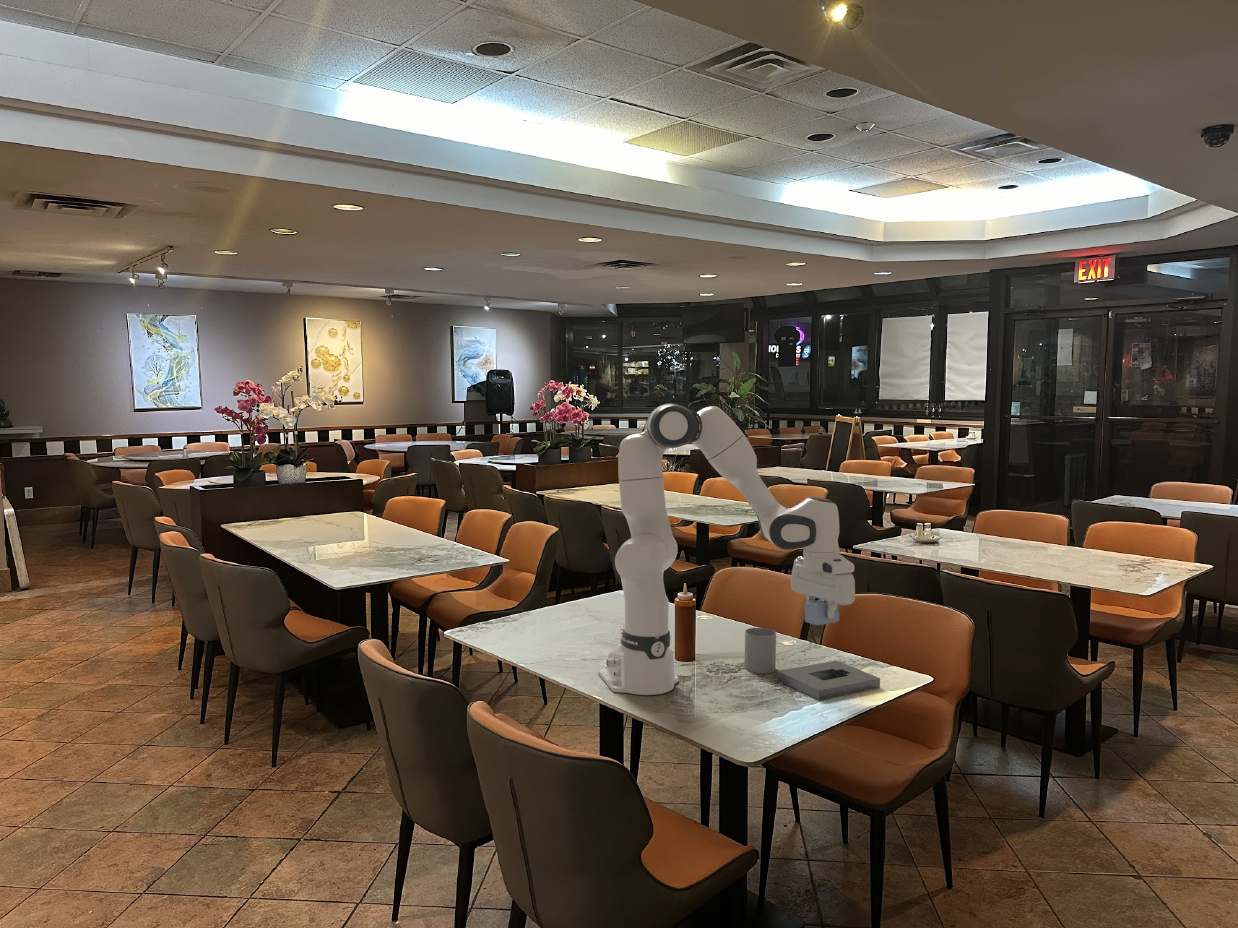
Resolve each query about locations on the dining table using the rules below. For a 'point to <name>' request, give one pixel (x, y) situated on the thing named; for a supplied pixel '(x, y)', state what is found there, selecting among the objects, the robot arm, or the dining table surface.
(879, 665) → the dining table surface
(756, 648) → the cup
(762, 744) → the dining table surface
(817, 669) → the frame
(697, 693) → the dining table surface
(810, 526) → the robot arm
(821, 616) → the block
